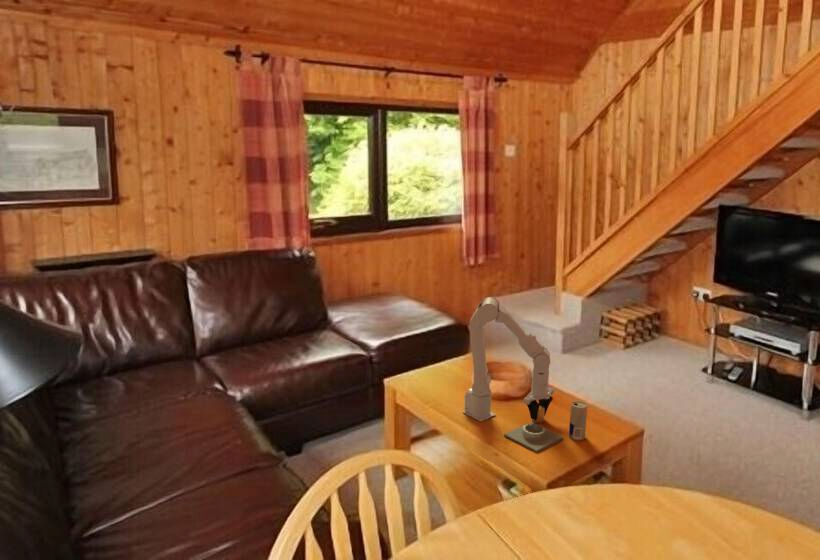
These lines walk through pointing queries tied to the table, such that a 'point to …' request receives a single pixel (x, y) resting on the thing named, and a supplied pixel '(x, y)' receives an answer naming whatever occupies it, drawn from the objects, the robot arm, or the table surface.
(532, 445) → the gray board
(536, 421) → the orange rounded capsule
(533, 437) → the segmented brown ring
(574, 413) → the energy drink
